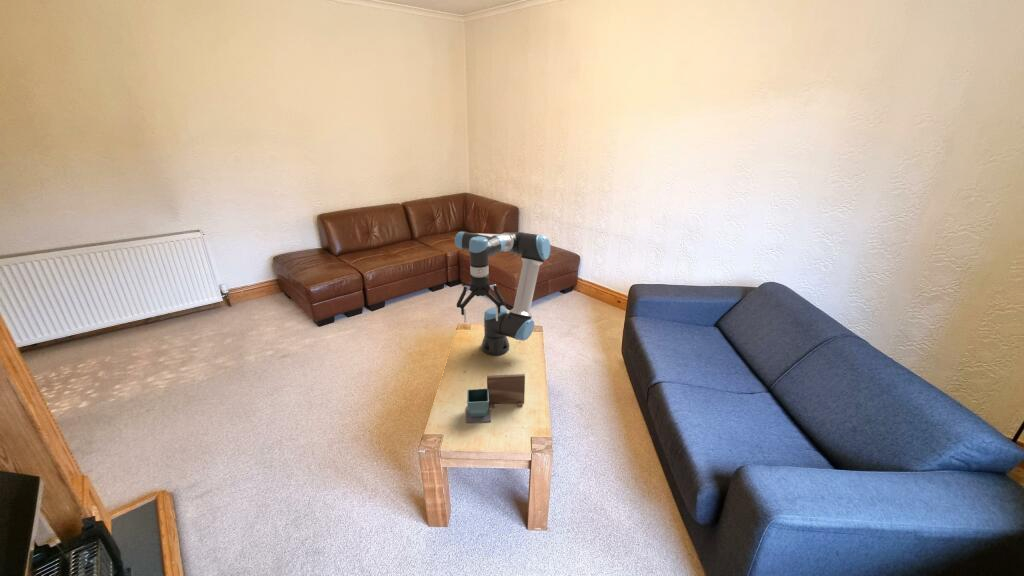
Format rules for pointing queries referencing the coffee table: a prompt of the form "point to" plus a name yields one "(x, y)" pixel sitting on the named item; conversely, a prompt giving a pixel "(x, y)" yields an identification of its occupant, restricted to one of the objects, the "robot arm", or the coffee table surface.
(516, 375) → the screen
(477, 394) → the flower pot
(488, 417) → the mat
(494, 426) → the coffee table surface
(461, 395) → the coffee table surface
